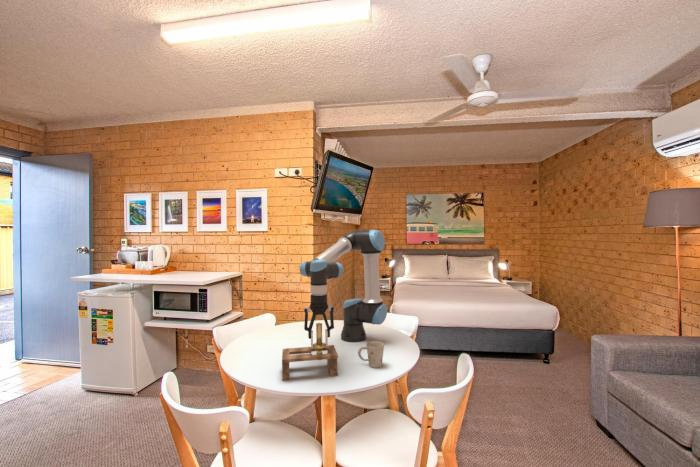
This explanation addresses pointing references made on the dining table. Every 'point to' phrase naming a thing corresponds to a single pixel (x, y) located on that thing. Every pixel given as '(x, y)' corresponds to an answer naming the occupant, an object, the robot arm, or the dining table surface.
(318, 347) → the pin
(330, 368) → the keyhole shelf
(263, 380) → the dining table surface
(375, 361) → the mug
